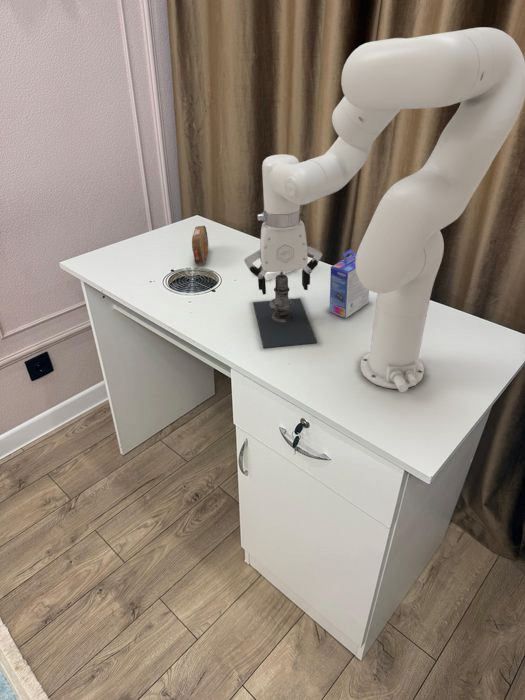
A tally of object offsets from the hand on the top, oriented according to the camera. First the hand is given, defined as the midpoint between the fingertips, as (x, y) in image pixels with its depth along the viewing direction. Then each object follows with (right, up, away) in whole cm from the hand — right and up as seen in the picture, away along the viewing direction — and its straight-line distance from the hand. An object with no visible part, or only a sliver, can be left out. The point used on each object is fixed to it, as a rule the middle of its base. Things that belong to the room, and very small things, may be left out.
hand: (284, 289), depth 117 cm
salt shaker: (0, -6, +5) cm, 8 cm away
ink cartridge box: (+16, -3, +8) cm, 19 cm away
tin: (-23, +13, +34) cm, 43 cm away
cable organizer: (-1, +8, +25) cm, 26 cm away
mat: (0, -7, +3) cm, 8 cm away
